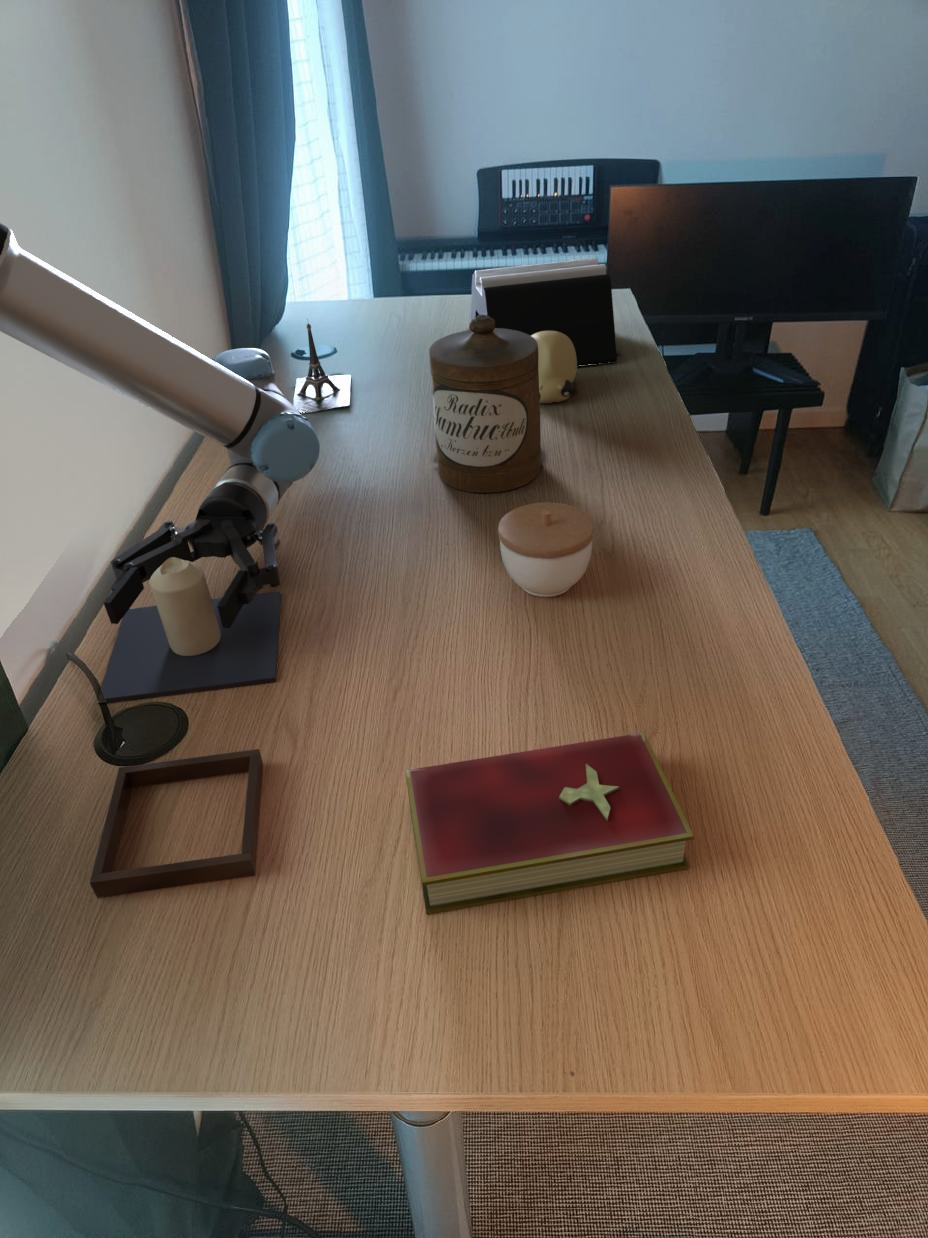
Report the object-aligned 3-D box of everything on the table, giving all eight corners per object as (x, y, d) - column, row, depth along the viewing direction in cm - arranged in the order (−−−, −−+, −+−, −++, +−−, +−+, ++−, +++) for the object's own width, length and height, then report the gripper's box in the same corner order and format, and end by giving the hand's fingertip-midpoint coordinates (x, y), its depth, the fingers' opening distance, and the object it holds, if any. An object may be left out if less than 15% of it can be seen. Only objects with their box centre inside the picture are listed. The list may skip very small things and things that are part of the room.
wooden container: (424, 488, 122) (409, 332, 109) (455, 443, 133) (446, 296, 120) (526, 499, 118) (524, 338, 105) (550, 451, 129) (551, 300, 116)
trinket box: (590, 611, 97) (592, 539, 91) (494, 606, 99) (491, 535, 93) (593, 559, 105) (596, 490, 100) (505, 555, 107) (504, 487, 101)
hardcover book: (408, 798, 76) (404, 764, 74) (639, 760, 78) (643, 726, 76) (426, 914, 67) (421, 880, 64) (688, 868, 69) (694, 833, 66)
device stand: (470, 338, 172) (466, 258, 163) (580, 325, 174) (582, 246, 165) (494, 378, 154) (491, 291, 145) (616, 364, 156) (621, 277, 147)
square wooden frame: (96, 898, 70) (89, 882, 68) (124, 782, 80) (118, 767, 78) (255, 875, 71) (250, 859, 69) (263, 764, 81) (259, 748, 79)
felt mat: (98, 704, 89) (96, 700, 88) (126, 613, 101) (125, 609, 101) (276, 681, 90) (275, 677, 90) (281, 594, 103) (280, 590, 102)
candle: (167, 633, 97) (143, 557, 91) (217, 621, 98) (196, 545, 92) (172, 662, 93) (147, 584, 87) (224, 648, 94) (203, 571, 88)
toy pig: (520, 416, 149) (520, 394, 138) (515, 348, 150) (515, 322, 139) (578, 411, 148) (582, 389, 138) (573, 343, 149) (577, 316, 139)
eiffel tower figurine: (351, 409, 146) (340, 329, 138) (290, 414, 146) (276, 335, 138) (351, 376, 158) (341, 301, 150) (295, 381, 158) (282, 306, 150)
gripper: (337, 537, 106) (285, 648, 89) (153, 533, 110) (69, 639, 92) (328, 482, 102) (272, 588, 85) (137, 480, 105) (45, 581, 88)
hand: (166, 615), depth 89 cm, fingers open, 11 cm apart
